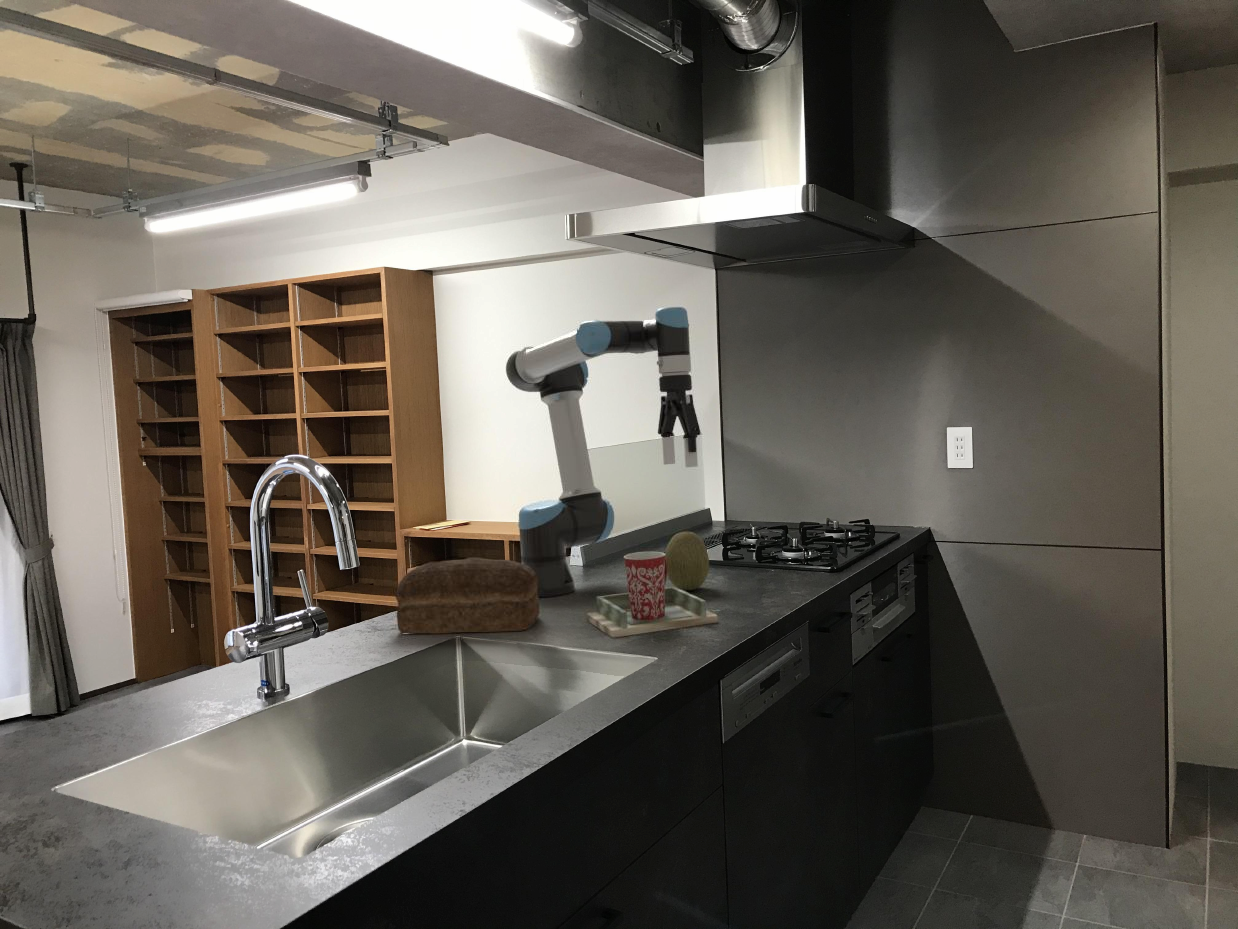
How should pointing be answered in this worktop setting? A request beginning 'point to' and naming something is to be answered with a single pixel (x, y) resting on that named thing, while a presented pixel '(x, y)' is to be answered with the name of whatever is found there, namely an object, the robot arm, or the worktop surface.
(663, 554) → the mug
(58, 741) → the worktop surface
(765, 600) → the worktop surface
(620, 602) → the tray
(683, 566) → the fruit
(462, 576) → the bread
